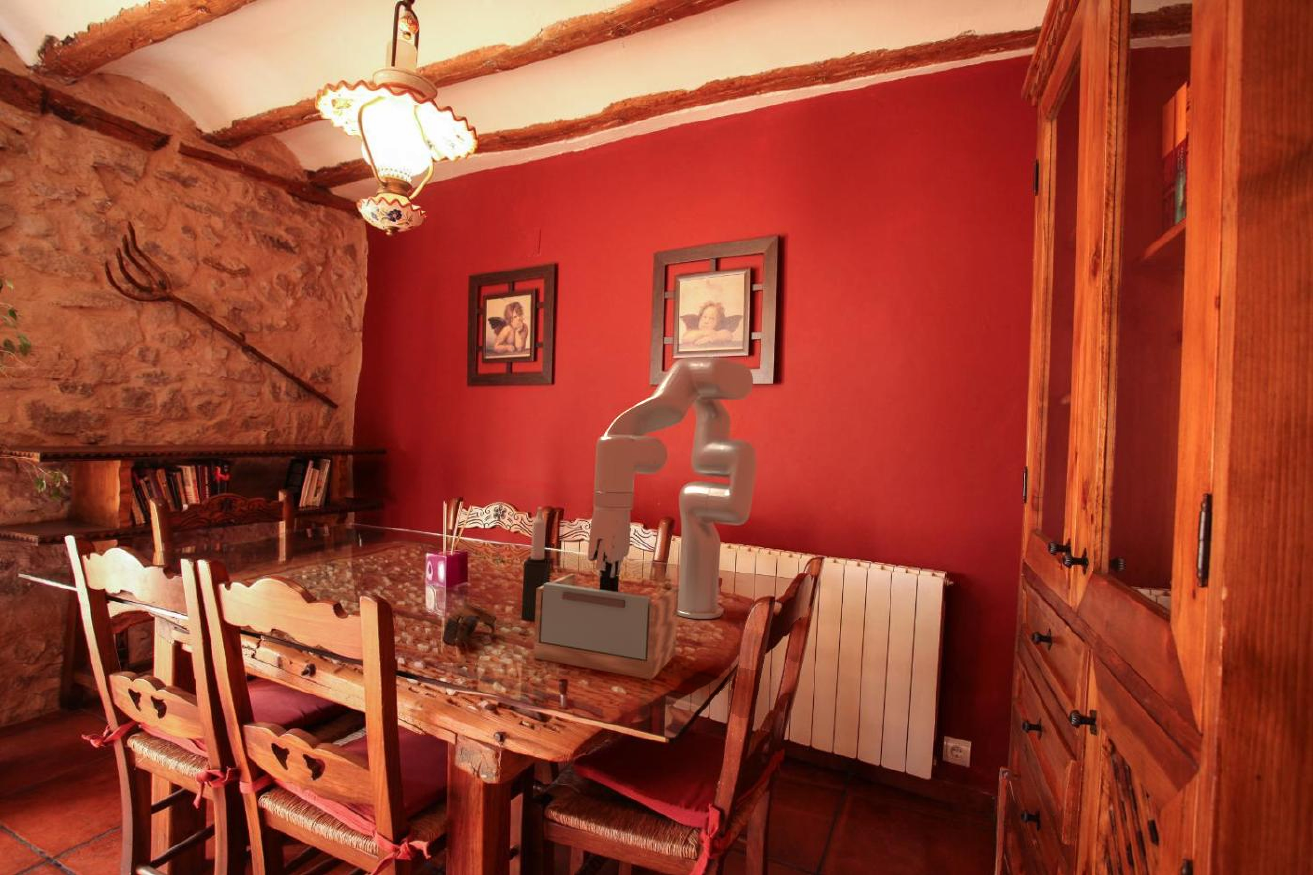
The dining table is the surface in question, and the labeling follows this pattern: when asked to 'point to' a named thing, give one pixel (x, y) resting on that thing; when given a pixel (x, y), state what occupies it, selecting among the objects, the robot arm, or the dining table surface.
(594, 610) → the panel
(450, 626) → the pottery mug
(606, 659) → the wooden tray crate
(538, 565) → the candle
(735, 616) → the dining table surface
